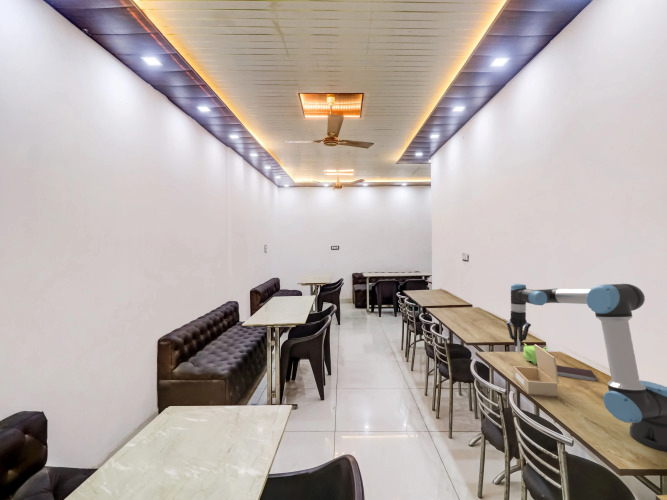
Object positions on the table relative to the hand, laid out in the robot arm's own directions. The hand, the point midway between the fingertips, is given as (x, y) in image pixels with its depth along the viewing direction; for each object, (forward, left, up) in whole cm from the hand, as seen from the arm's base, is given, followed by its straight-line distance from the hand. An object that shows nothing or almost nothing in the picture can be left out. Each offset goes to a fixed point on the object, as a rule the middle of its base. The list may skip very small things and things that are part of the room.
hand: (517, 351), depth 183 cm
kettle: (+41, -26, -20) cm, 52 cm away
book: (+22, -40, -20) cm, 50 cm away
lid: (0, -14, -5) cm, 15 cm away
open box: (0, -8, -20) cm, 21 cm away
